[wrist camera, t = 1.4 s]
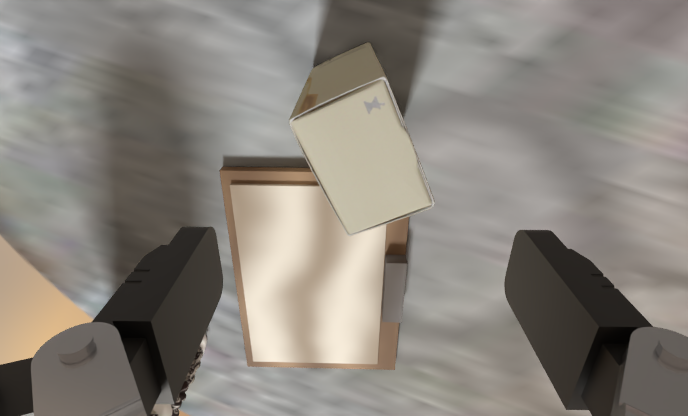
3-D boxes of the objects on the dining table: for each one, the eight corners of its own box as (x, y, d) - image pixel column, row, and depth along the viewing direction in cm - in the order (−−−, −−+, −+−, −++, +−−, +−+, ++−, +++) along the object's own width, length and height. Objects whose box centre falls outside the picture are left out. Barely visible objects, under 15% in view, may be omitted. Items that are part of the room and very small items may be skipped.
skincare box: (309, 68, 26) (279, 112, 15) (370, 39, 25) (384, 65, 15) (348, 153, 29) (346, 242, 18) (405, 129, 28) (438, 208, 17)
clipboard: (411, 169, 29) (415, 180, 28) (393, 362, 38) (395, 380, 37) (222, 166, 30) (214, 177, 28) (249, 359, 39) (244, 376, 37)
